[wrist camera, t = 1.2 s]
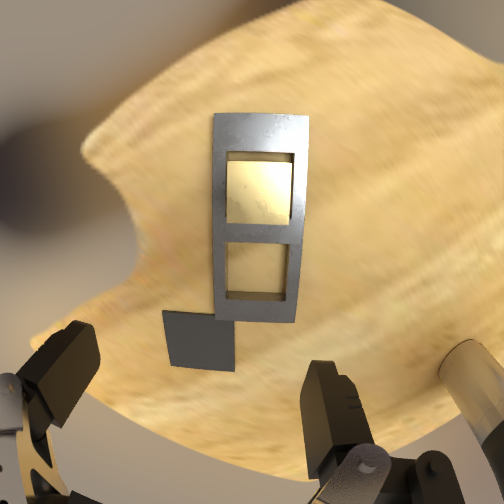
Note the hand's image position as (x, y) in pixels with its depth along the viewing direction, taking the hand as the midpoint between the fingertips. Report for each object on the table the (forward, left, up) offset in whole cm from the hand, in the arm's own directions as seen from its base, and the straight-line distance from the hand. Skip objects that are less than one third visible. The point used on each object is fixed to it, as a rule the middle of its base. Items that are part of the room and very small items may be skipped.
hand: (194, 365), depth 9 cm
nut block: (-2, -4, -22) cm, 22 cm away
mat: (+5, +16, -22) cm, 27 cm away
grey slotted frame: (-2, 0, -22) cm, 22 cm away
